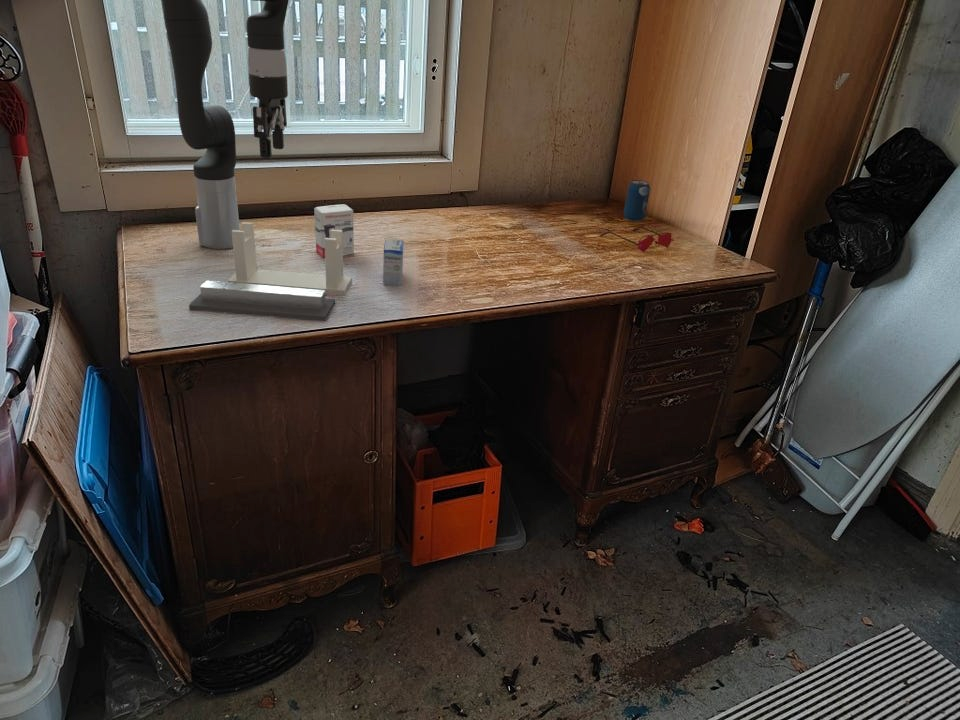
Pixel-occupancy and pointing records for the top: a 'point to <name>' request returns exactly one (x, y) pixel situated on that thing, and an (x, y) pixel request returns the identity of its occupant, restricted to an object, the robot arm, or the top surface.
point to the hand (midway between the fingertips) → (272, 153)
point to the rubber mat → (263, 309)
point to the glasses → (649, 239)
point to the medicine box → (393, 262)
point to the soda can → (636, 200)
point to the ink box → (334, 226)
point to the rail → (263, 295)
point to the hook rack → (252, 275)
